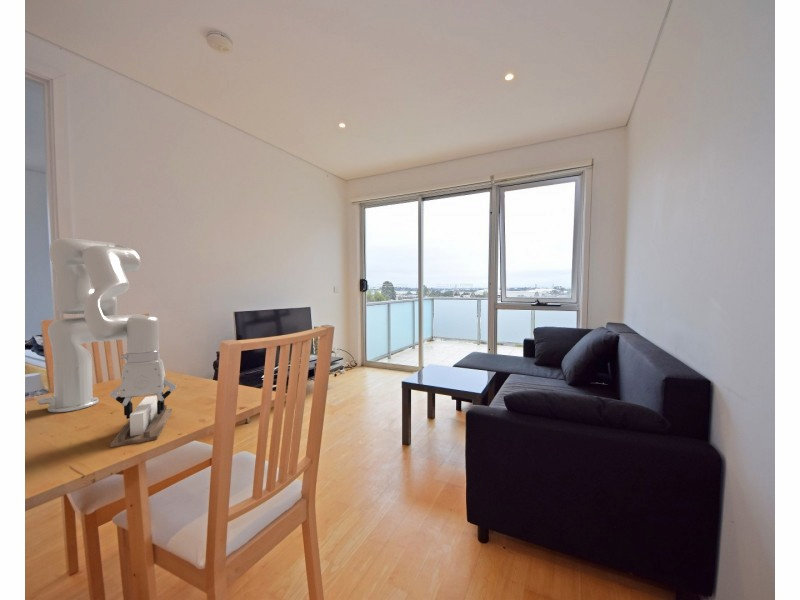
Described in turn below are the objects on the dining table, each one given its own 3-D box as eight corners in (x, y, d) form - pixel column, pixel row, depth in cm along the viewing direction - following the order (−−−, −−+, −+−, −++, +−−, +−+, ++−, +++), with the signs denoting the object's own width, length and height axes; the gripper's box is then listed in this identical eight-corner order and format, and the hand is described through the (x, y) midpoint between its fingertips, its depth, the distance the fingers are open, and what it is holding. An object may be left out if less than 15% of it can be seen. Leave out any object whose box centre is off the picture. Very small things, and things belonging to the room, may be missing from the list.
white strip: (130, 436, 87) (129, 415, 87) (145, 415, 102) (145, 396, 101) (143, 434, 89) (143, 413, 88) (157, 413, 103) (156, 395, 103)
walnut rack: (110, 447, 83) (110, 438, 83) (135, 416, 103) (135, 409, 103) (157, 439, 88) (156, 430, 88) (172, 411, 107) (172, 404, 107)
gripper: (100, 362, 87) (102, 425, 88) (176, 356, 95) (177, 414, 96) (110, 357, 94) (112, 415, 94) (180, 352, 102) (181, 406, 102)
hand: (145, 414), depth 95 cm, fingers open, 6 cm apart
